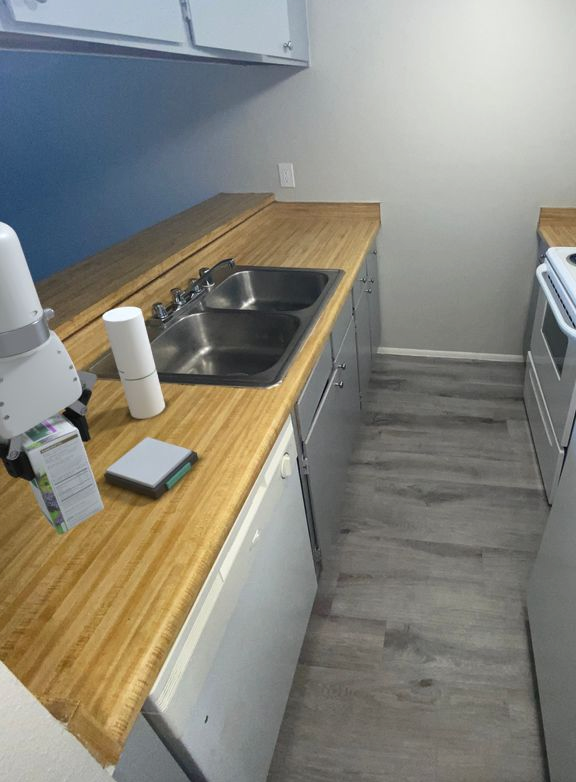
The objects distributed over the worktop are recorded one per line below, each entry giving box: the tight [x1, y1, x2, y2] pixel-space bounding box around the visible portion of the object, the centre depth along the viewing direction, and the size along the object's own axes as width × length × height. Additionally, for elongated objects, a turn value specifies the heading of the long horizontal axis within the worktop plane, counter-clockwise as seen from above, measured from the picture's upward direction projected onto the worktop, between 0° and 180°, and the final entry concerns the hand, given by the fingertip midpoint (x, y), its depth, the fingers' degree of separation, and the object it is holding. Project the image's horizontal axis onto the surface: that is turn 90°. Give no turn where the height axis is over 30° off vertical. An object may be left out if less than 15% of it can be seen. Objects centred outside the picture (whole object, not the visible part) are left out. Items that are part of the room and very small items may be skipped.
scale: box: [103, 436, 199, 500], centre depth 92 cm, size 12×11×3 cm
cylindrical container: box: [101, 306, 166, 420], centre depth 104 cm, size 7×7×25 cm
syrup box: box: [20, 412, 105, 536], centre depth 62 cm, size 6×6×14 cm
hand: (53, 455), depth 60 cm, fingers closed on syrup box, 6 cm apart
